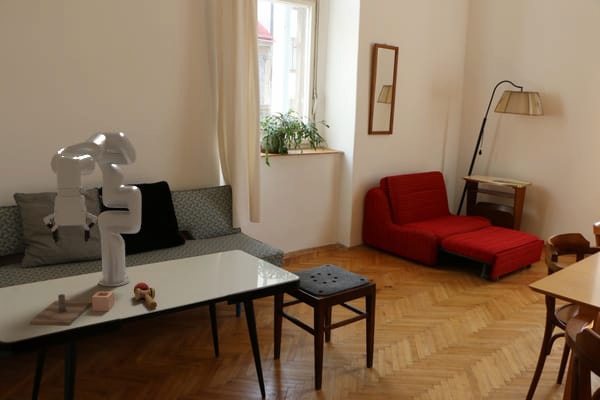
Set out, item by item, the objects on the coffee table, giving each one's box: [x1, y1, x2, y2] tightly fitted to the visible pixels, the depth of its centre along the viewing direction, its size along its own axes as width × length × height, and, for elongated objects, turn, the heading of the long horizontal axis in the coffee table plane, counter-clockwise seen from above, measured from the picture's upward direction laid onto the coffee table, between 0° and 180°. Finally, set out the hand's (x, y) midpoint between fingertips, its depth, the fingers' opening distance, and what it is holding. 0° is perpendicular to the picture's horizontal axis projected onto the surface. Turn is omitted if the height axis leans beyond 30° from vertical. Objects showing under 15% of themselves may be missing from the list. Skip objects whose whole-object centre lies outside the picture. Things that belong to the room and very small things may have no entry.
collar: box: [91, 290, 115, 312], centre depth 201 cm, size 6×6×6 cm
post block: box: [29, 293, 93, 326], centre depth 195 cm, size 20×14×7 cm
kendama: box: [133, 282, 158, 310], centre depth 209 cm, size 8×6×18 cm
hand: (71, 241), depth 183 cm, fingers open, 9 cm apart
